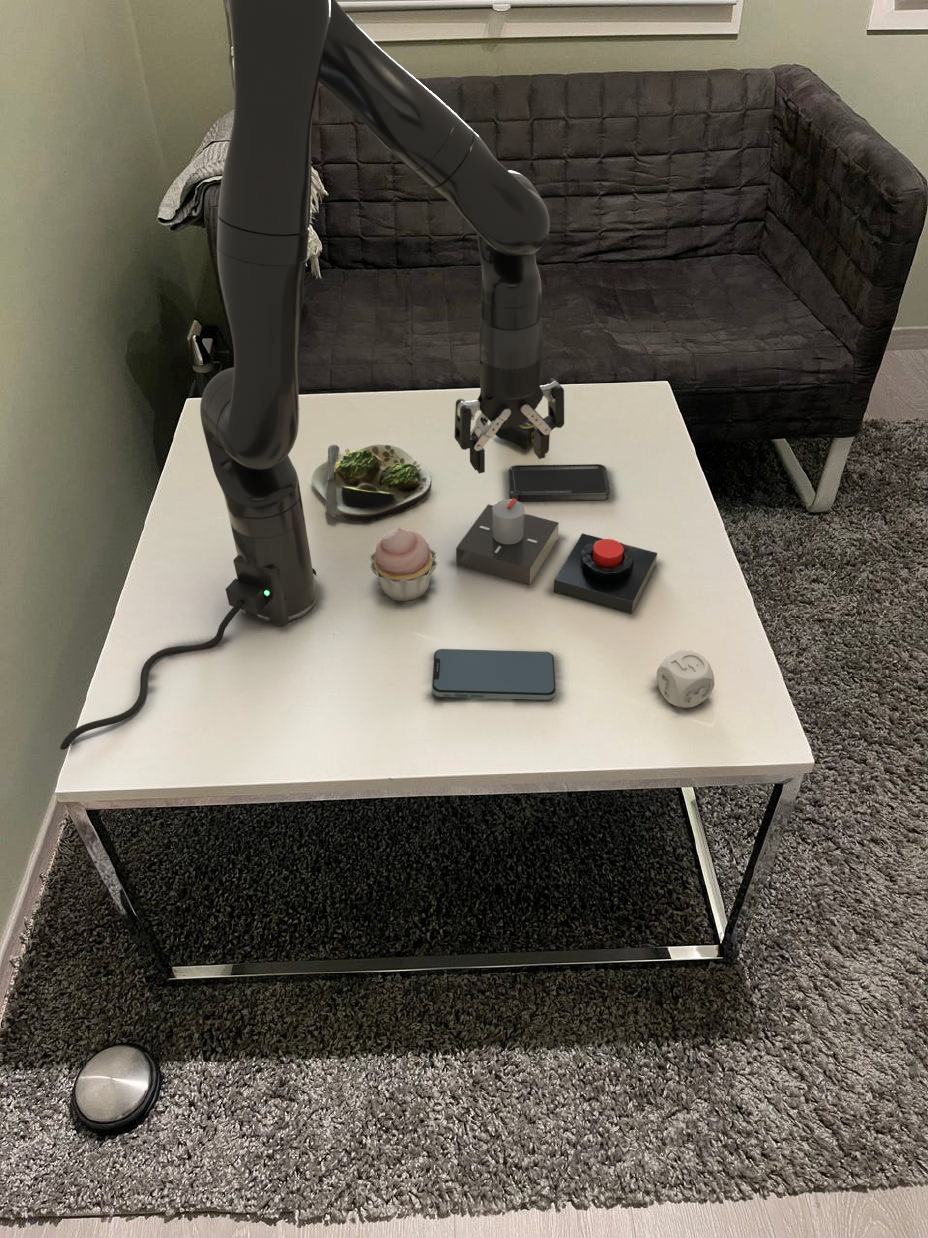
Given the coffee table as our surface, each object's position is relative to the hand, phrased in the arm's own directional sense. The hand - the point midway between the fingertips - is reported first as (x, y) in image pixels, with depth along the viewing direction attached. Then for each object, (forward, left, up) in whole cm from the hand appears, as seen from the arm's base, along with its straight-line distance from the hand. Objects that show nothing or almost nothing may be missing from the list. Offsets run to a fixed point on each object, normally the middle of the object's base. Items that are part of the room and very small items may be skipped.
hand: (509, 462), depth 133 cm
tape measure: (+26, +9, -15) cm, 32 cm away
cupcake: (-13, +10, -15) cm, 22 cm away
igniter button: (0, -14, -11) cm, 19 cm away
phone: (+17, -1, -15) cm, 23 cm away
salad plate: (+5, +25, -15) cm, 30 cm away
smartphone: (-24, -8, -15) cm, 29 cm away
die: (-17, -30, -15) cm, 38 cm away
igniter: (0, -14, -15) cm, 21 cm away
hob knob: (0, 0, -12) cm, 12 cm away
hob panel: (0, 0, -15) cm, 15 cm away
